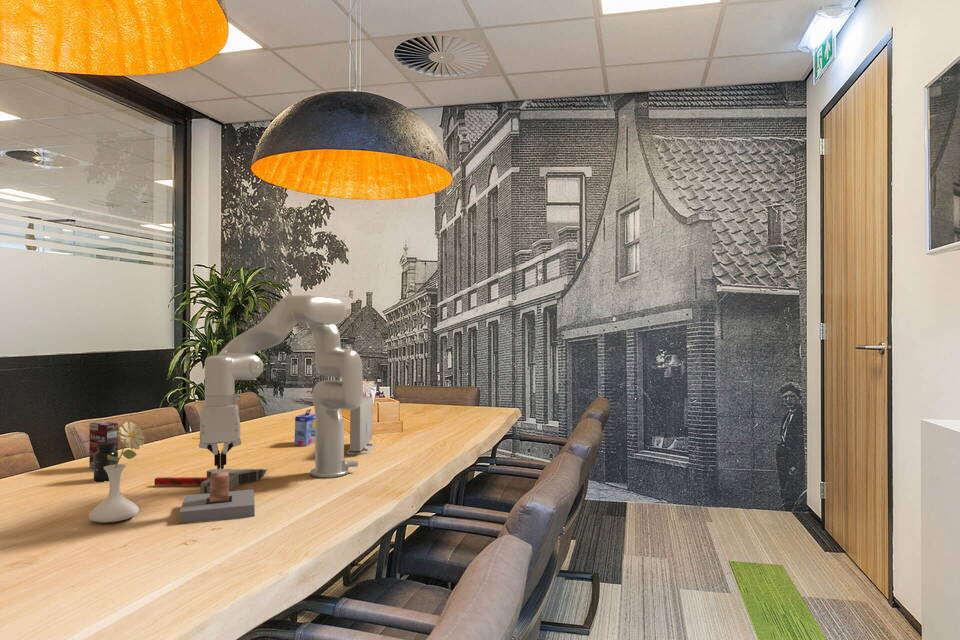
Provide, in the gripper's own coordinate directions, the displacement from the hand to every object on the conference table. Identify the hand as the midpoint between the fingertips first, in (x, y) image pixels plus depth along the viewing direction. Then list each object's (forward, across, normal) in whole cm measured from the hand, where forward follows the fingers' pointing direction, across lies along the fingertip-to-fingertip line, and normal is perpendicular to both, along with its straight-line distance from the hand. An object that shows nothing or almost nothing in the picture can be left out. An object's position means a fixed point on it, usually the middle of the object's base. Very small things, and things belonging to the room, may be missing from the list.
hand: (220, 467), depth 169 cm
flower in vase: (+12, +25, -2) cm, 28 cm away
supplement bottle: (+12, +36, -48) cm, 61 cm away
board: (+12, 0, 0) cm, 12 cm away
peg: (+12, 0, 0) cm, 12 cm away
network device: (+13, -50, -68) cm, 85 cm away
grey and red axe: (+13, +5, -32) cm, 34 cm away
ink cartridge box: (+13, -30, -86) cm, 93 cm away
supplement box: (+12, +40, -66) cm, 78 cm away
